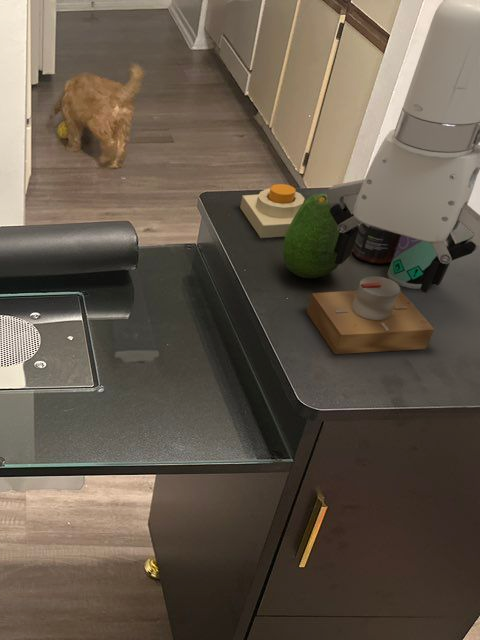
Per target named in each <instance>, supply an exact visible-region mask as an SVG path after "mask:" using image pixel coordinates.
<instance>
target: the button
mask: <svg viewBox="0 0 480 640" xmlns="http://www.w3.org/2000/svg"><path fill="white" fill-rule="evenodd" d="M269 188H270V193H269V197H268V200H270V201H272V202H274V203H280V204H287V203H292V202H293V200H294V196H295V192H297V189H296V188H295V187H294V186H292V185H290V184H285V183H284V184H283V183H277V184H273V185H271V187H269Z"/></svg>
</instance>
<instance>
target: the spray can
mask: <svg viewBox="0 0 480 640" xmlns="http://www.w3.org/2000/svg"><path fill="white" fill-rule="evenodd" d="M479 172H480V167H479V171H478V174H477V176H478V175H479ZM454 231H455V230H452V233H453V234H454ZM436 256H437V255H436V253H435V250H434V248H433V246H432V244H431V243H430V242H425V241H421V240H417V239H414V238H410V237H407V236H403V235H401V238H400V241H399V243H398V246H397V249H396V251H395V254H394V257H393V259H392V262H390V264H389V268H388V270H387V274H386V275H387V279H390V280H392V281H394V282H396V283H397V284H398V285H399V287H403V288H407V289H417V290H420V288H421V285H422V283H423V281H424V278H425V276H426V274H427V271H428V269H429V266H430V264H431V262H432V261H433V259H434V258H435V257H436Z"/></svg>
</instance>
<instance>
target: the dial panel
mask: <svg viewBox="0 0 480 640" xmlns="http://www.w3.org/2000/svg"><path fill="white" fill-rule="evenodd" d="M356 292H357V289H354V290H343V291H342V290H341V291H325V292H324V291H323V292H312V293H311V296H310V300H309V303H308V305H307V308H306V309H307V310H306V314H307V315H308V317H309V318H310V320H311V322H312V323H313V324H314V326H315V327H316V329H317V330H318V332H319V333H320V335H321V336H322V338H323V340H324V341H325V342H326V344H327V345H328V347H329V348H330V349H331V351H332V352H333V354H334V355H347V354H363V353H378V352H379V353H382V352H395V351H396V352H397V351H413V350H414V351H415V350H426V349H427V347H428V345H429V343H430V341H431V338H432V336H433V334H434V332H435V328H434V327H433V325H431V323H430V322H429V321H428V320H427V319H426V318H425V317H424V315H423V314H422V313H421V312H420V311H419V310H418V308H416V306H415V305H414V304H413V302H412V301H410V299H409V298H408V297H407V296H406V295H405V293H403V291H402V289H400V293H399V295H398V298H397V300H396V303H395V305H394V308H393V311H392V313H391V315H390V316H389V317H388V318H386V319H383V320H371V319H366V318H363V317H361V316H359V315H357V314H356V313H355V312H354V311H353V309H352V304H353V301H354V298H355V295H356Z"/></svg>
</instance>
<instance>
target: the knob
mask: <svg viewBox="0 0 480 640" xmlns="http://www.w3.org/2000/svg"><path fill="white" fill-rule="evenodd" d="M356 290H357V292H356V295H355V298H354V301H353V304H352V309H353V311H354V312H355V313H356V314H357V315H359V316H361V317H363V318H366V319H371V320H383V319H386V318H388V317H389V316H390V315H391V313H392V311H393V308H394V305H395V303H396V300H397V298H398V295H399V293H400V290H401V286H400V285H398V284H397V283H396V282H394V281H392V280H390V279H389V278H388V277H383V276H377V275H375V276H366V277H363V278H362V279H361V280H360V281H359V283H358V287H357V289H356Z"/></svg>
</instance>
